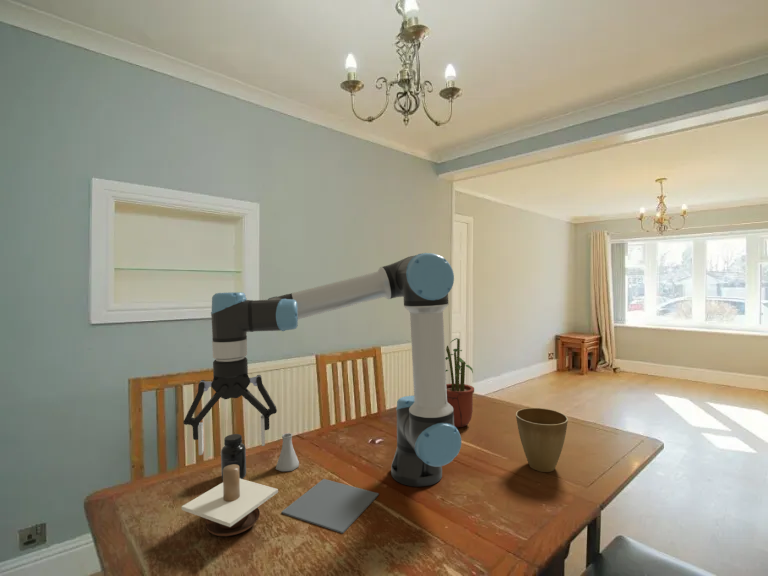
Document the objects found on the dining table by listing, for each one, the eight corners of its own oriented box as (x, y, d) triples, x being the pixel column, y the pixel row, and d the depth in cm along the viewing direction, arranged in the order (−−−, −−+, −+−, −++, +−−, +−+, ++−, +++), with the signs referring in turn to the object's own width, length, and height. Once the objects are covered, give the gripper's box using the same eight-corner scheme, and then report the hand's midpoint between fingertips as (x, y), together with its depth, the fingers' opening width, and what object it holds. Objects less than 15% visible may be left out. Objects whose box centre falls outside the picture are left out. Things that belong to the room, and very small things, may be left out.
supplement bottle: (225, 472, 119) (225, 432, 118) (248, 470, 119) (248, 431, 119) (218, 483, 112) (217, 442, 112) (242, 482, 112) (242, 441, 112)
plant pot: (523, 452, 131) (523, 404, 131) (571, 463, 123) (572, 413, 122) (509, 469, 119) (509, 417, 119) (562, 484, 110) (562, 427, 110)
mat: (378, 494, 105) (378, 493, 105) (342, 533, 89) (342, 531, 89) (323, 480, 113) (323, 478, 113) (281, 513, 97) (281, 511, 97)
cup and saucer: (227, 549, 85) (227, 520, 85) (194, 530, 91) (194, 504, 91) (270, 520, 95) (270, 494, 95) (238, 505, 101) (237, 481, 101)
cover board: (278, 492, 96) (277, 460, 96) (230, 527, 82) (229, 490, 82) (233, 479, 102) (232, 449, 102) (181, 509, 89) (181, 475, 89)
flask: (293, 473, 117) (292, 440, 117) (271, 471, 119) (270, 438, 119) (303, 462, 125) (302, 431, 124) (282, 460, 126) (281, 429, 126)
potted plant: (477, 430, 150) (477, 339, 149) (437, 430, 150) (436, 340, 150) (468, 415, 167) (468, 333, 167) (432, 415, 167) (431, 334, 167)
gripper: (283, 351, 99) (286, 434, 100) (173, 359, 91) (176, 449, 92) (286, 356, 92) (288, 445, 92) (167, 366, 84) (170, 463, 84)
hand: (233, 448), depth 92 cm, fingers open, 13 cm apart
